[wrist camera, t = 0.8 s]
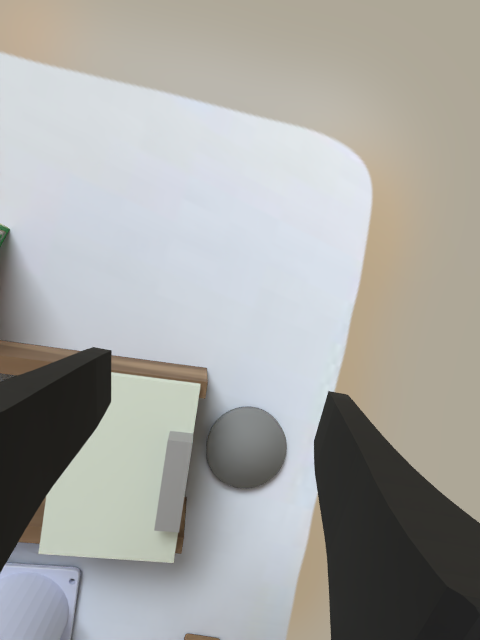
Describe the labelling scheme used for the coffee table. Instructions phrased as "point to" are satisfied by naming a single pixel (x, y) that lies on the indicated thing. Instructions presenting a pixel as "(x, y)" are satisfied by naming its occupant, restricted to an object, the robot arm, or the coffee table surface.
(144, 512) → the lid
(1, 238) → the stack of blocks
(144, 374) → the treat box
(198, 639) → the wooden block
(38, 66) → the coffee table surface
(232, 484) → the coaster
